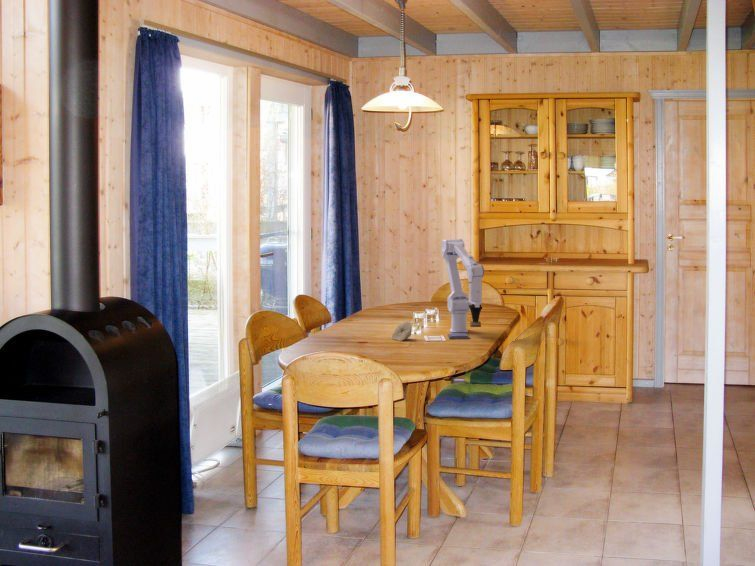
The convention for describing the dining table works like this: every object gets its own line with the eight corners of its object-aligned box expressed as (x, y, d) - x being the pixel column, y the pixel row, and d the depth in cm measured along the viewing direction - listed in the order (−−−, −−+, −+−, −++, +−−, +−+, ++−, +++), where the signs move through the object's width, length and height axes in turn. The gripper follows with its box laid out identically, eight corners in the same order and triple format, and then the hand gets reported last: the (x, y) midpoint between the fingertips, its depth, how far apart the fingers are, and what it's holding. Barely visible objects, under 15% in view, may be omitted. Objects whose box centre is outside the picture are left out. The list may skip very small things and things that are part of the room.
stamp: (470, 325, 431) (470, 313, 431) (479, 325, 431) (479, 313, 431) (471, 327, 427) (471, 314, 426) (480, 326, 427) (480, 314, 426)
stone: (391, 343, 421) (387, 323, 425) (396, 348, 426) (392, 329, 431) (412, 336, 418) (408, 316, 423) (417, 341, 424) (413, 322, 428)
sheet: (423, 336, 433) (423, 335, 433) (443, 335, 433) (443, 335, 433) (425, 341, 419) (425, 340, 419) (445, 340, 419) (445, 340, 419)
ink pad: (447, 335, 432) (447, 333, 432) (467, 335, 433) (467, 332, 432) (449, 339, 423) (449, 336, 423) (469, 338, 424) (469, 336, 423)
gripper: (464, 289, 434) (464, 318, 436) (468, 293, 420) (468, 323, 422) (480, 289, 435) (480, 318, 436) (484, 293, 420) (484, 323, 422)
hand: (475, 320), depth 429 cm, fingers closed on stamp, 3 cm apart
